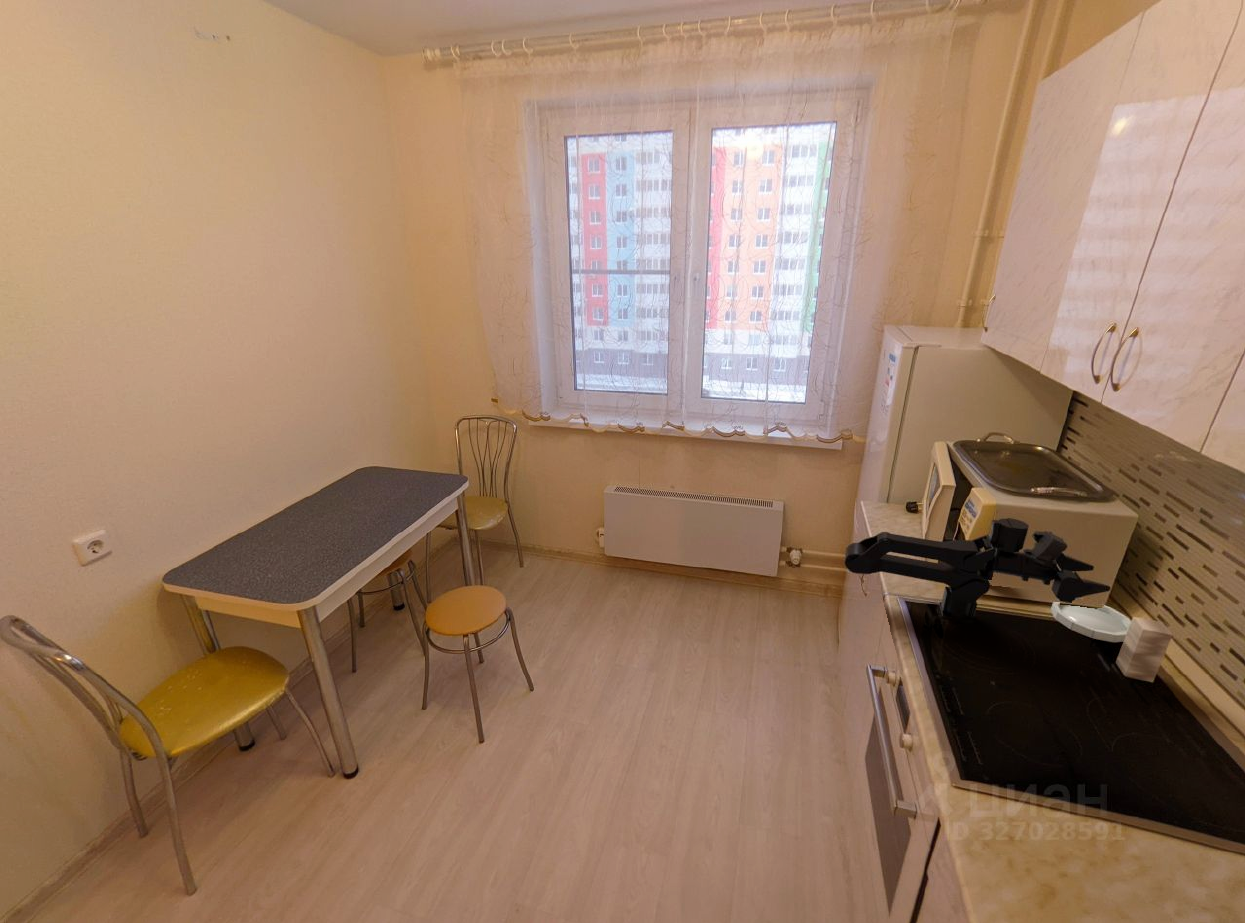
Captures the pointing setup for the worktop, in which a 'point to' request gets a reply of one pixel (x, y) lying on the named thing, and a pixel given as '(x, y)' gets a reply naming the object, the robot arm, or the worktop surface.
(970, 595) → the robot arm
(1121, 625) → the dish
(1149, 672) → the birch block
